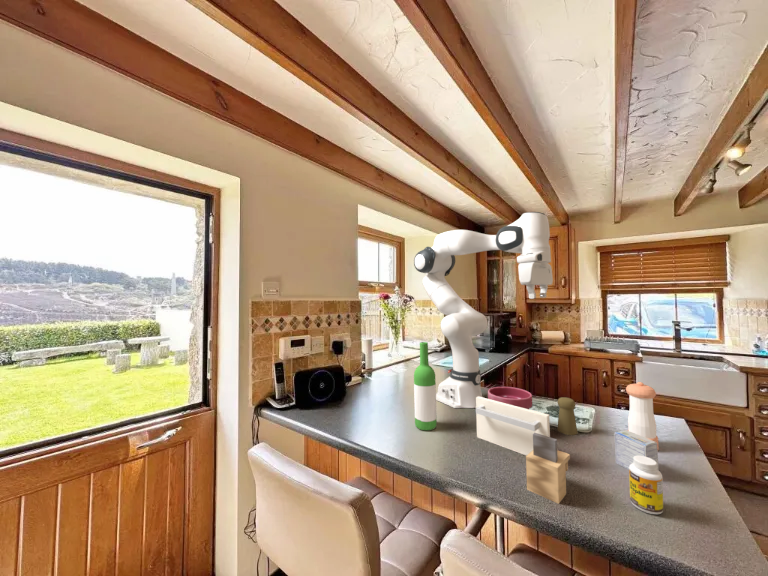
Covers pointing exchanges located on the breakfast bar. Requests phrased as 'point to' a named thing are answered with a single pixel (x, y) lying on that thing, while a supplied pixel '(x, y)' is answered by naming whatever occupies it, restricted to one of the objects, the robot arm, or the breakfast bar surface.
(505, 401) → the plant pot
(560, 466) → the oak cabinet block
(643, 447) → the medicine box
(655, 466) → the supplement bottle
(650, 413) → the pepper shaker
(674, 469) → the breakfast bar surface
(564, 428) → the pepper shaker
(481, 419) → the wall board
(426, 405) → the wine bottle
